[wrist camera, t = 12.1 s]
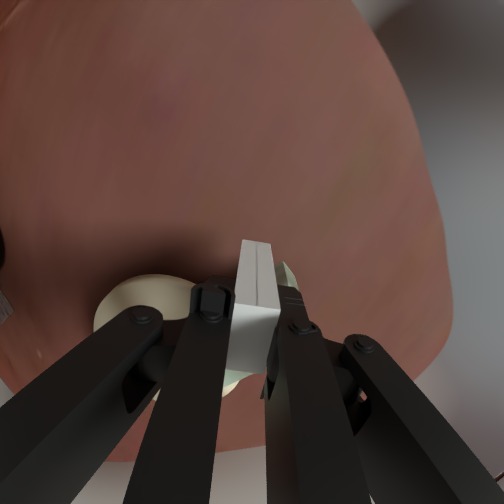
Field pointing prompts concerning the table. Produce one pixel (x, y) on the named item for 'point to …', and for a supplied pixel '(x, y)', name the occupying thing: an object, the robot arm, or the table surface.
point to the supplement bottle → (1, 250)
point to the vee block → (4, 308)
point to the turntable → (169, 303)
